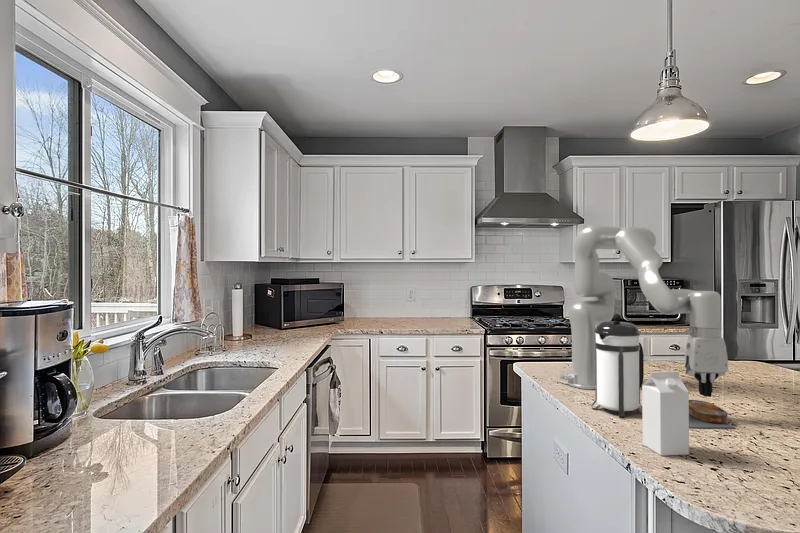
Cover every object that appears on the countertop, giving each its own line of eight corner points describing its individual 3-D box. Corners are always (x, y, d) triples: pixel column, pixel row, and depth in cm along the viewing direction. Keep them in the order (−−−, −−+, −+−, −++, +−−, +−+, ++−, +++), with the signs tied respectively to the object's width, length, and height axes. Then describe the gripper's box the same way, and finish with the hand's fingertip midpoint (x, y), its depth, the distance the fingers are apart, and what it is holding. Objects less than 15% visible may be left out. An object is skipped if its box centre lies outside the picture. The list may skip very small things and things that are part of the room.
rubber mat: (688, 428, 126) (688, 426, 126) (655, 408, 144) (655, 406, 144) (735, 428, 125) (735, 427, 125) (696, 408, 143) (696, 407, 143)
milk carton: (642, 444, 115) (641, 369, 115) (669, 443, 116) (668, 368, 115) (660, 456, 108) (660, 375, 108) (689, 455, 108) (688, 375, 108)
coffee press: (652, 421, 132) (652, 317, 132) (592, 415, 137) (591, 315, 137) (643, 404, 148) (642, 311, 148) (589, 399, 153) (589, 310, 153)
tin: (733, 415, 127) (700, 411, 129) (732, 427, 127) (699, 423, 129) (708, 400, 142) (678, 397, 143) (707, 410, 142) (677, 407, 143)
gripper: (686, 335, 131) (686, 399, 131) (740, 335, 130) (740, 399, 130) (672, 331, 139) (672, 391, 139) (723, 331, 138) (723, 392, 138)
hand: (705, 395), depth 135 cm, fingers closed
